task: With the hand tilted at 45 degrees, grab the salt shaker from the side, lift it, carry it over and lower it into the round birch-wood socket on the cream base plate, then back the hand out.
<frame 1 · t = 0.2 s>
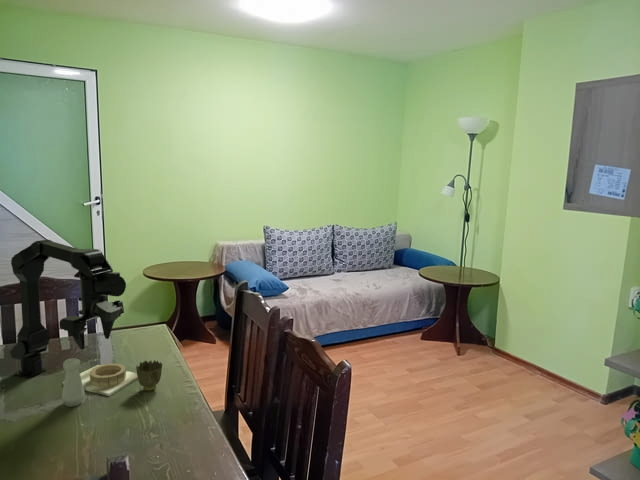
hand: (95, 343, 138), 15 cm above the table, tool pointing down, fingers open, 9 cm apart
salt shaker: (73, 403, 132), on the table
cup: (149, 390, 141), on the table
socket: (108, 381, 145), on the table
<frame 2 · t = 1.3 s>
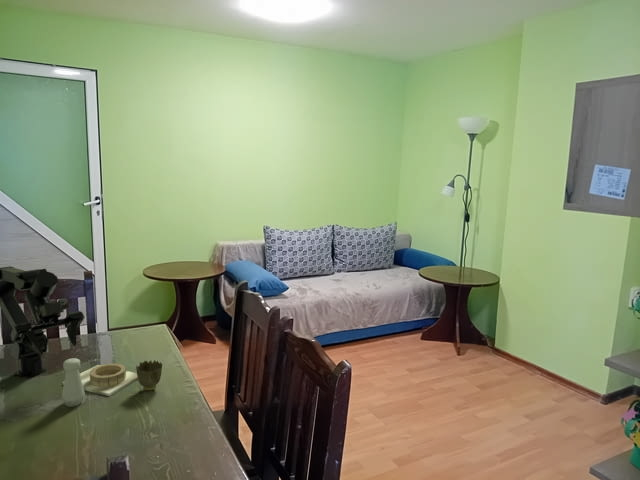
hand: (59, 350, 135), 14 cm above the table, tool tilted 45°, fingers open, 9 cm apart
nothing on the table moved.
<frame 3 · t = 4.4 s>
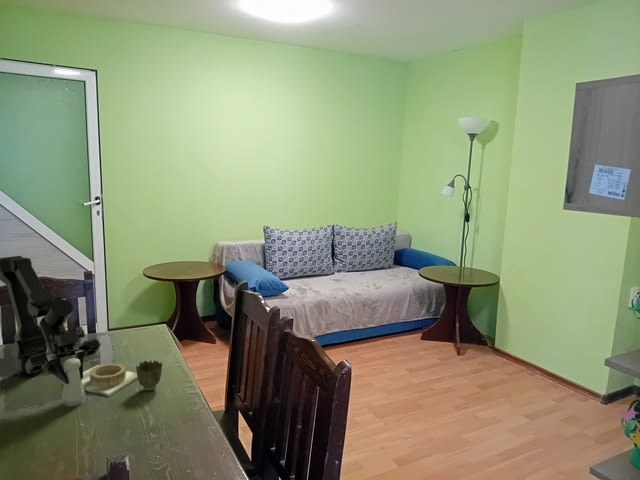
hand: (74, 381, 130), 7 cm above the table, tool tilted 45°, fingers closed on salt shaker, 3 cm apart
salt shaker: (73, 403, 132), on the table, touching gripper
everything else where it was.
when the fingers open (9 cm above the table, at t = 8.7 s): salt shaker stays where it is, resting on socket.
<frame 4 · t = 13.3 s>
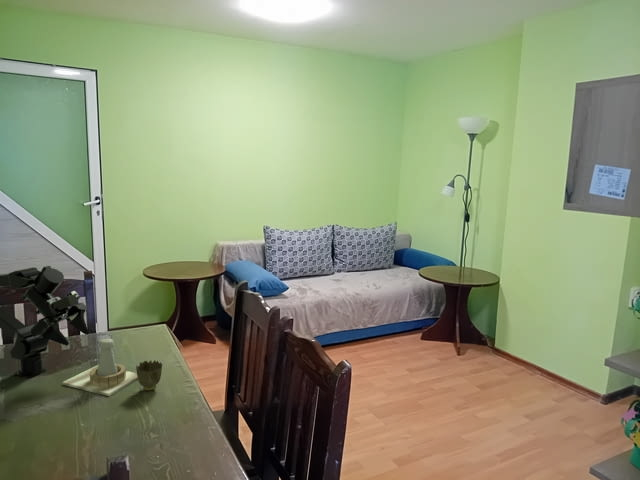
hand: (78, 339, 143), 14 cm above the table, tool tilted 45°, fingers open, 9 cm apart
salt shaker: (107, 380, 145), point 1 cm above the table, touching socket
everything else where it was.
at the end: salt shaker 0.2 cm off-centre on the socket, point 0.6 cm above the socket's base; salt shaker tilted 0°; the gripper is holding nothing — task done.
